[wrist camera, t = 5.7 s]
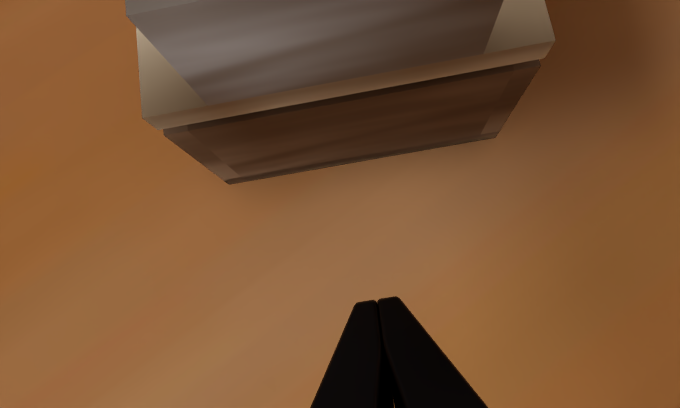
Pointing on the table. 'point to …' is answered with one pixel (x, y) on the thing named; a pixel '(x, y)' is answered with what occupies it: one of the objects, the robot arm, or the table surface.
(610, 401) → the table surface
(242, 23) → the lid
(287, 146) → the crate
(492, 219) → the table surface
